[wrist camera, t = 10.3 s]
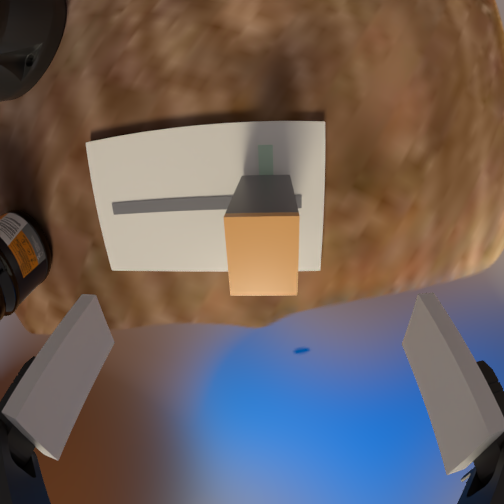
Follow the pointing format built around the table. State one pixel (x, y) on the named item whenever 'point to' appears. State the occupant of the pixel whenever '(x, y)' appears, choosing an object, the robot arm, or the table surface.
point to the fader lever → (263, 237)
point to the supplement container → (21, 259)
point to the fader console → (200, 189)
